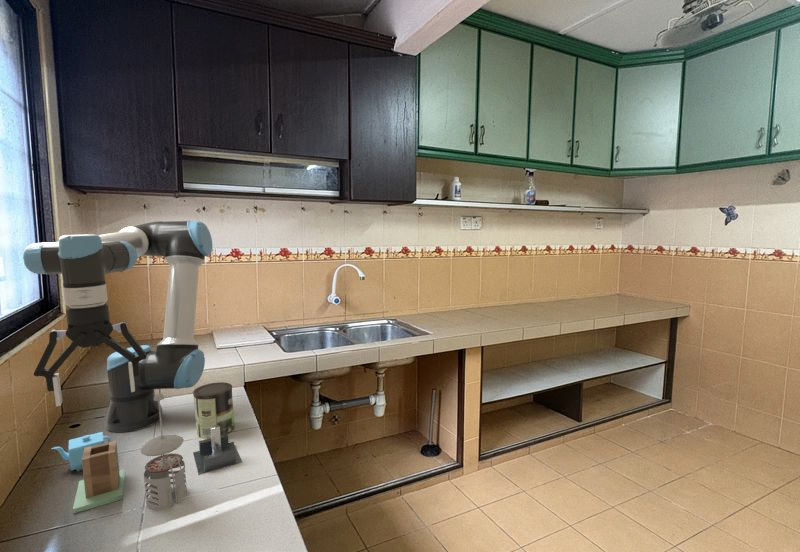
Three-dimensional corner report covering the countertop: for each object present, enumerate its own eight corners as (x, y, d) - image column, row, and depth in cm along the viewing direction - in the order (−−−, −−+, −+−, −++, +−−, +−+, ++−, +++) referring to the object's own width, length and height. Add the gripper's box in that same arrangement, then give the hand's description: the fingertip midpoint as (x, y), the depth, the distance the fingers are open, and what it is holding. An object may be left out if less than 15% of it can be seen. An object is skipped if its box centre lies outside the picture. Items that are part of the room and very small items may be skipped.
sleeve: (88, 484, 97) (84, 447, 96) (119, 476, 100) (116, 440, 99) (85, 498, 92) (81, 459, 91) (118, 489, 95) (115, 451, 94)
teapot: (53, 479, 101) (50, 450, 100) (54, 468, 106) (51, 440, 105) (113, 462, 108) (110, 434, 107) (111, 452, 113) (109, 425, 112)
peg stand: (193, 457, 109) (190, 423, 108) (233, 446, 115) (231, 413, 114) (199, 480, 99) (196, 443, 98) (242, 467, 105) (240, 431, 103)
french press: (181, 484, 98) (172, 382, 95) (204, 504, 91) (196, 394, 88) (134, 506, 90) (123, 395, 88) (155, 530, 83) (144, 410, 80)
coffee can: (233, 423, 128) (230, 379, 127) (236, 438, 119) (233, 391, 117) (196, 431, 124) (193, 385, 122) (196, 447, 115) (192, 398, 113)
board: (79, 484, 98) (79, 480, 98) (130, 471, 104) (129, 467, 104) (73, 513, 88) (72, 509, 88) (129, 497, 94) (128, 492, 93)
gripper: (6, 315, 82) (20, 417, 85) (153, 301, 95) (161, 389, 98) (16, 308, 88) (28, 404, 91) (152, 296, 102) (159, 379, 104)
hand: (97, 396), depth 95 cm, fingers open, 13 cm apart
